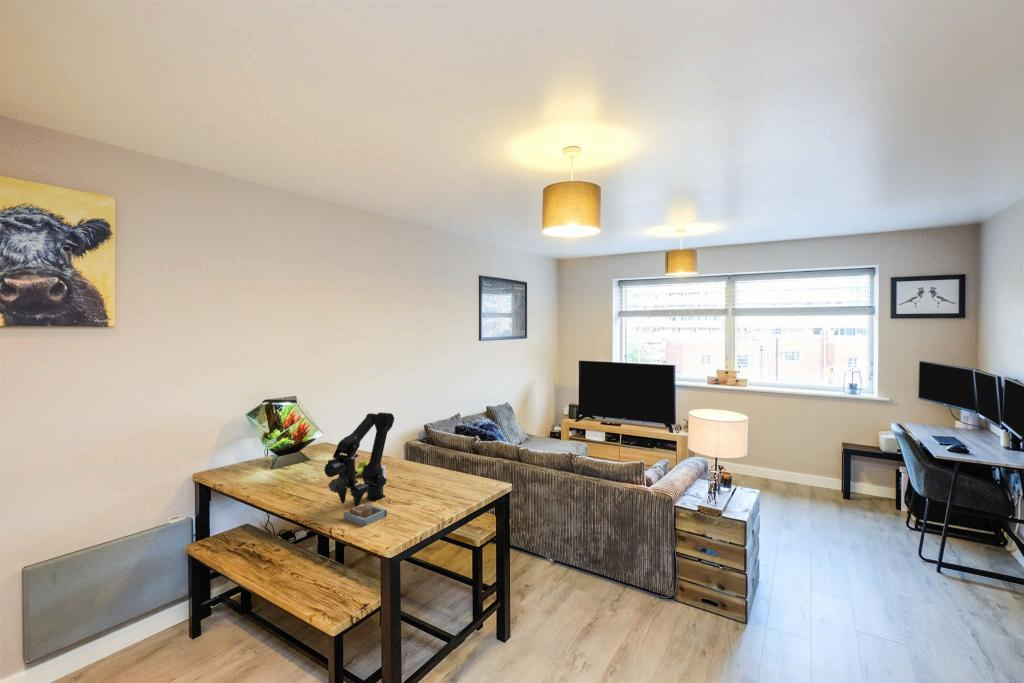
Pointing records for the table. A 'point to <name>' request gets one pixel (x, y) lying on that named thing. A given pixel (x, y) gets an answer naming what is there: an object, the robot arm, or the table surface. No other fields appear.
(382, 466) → the medicine box
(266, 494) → the table surface
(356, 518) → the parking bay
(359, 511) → the block
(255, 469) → the table surface
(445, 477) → the table surface
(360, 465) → the dumbbell
